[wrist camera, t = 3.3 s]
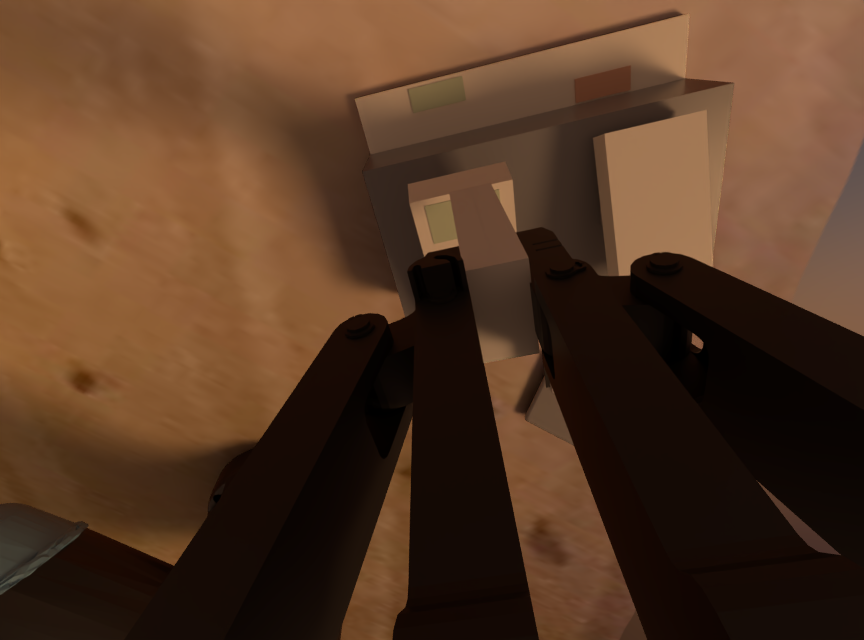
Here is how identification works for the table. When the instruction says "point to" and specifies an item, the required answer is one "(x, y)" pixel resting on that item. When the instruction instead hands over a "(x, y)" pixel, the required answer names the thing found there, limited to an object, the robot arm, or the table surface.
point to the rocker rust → (655, 191)
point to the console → (535, 133)
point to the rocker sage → (436, 208)
